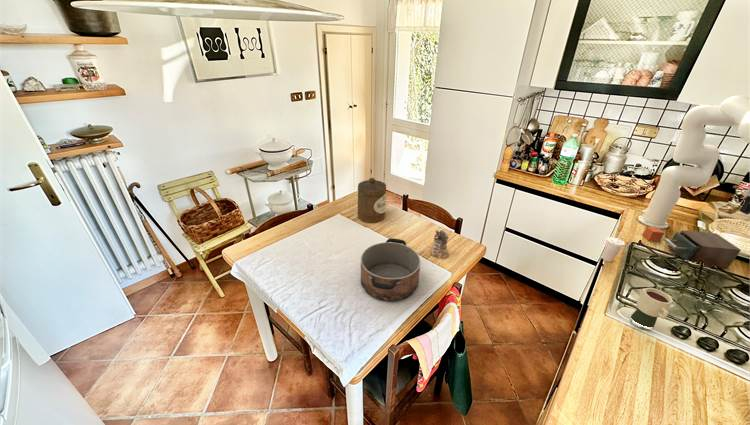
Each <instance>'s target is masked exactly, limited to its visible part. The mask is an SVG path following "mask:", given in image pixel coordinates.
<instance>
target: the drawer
mask: <svg viewBox="0 0 750 425" xmlns="http://www.w3.org/2000/svg"><path fill="white" fill-rule="evenodd" d="M663 241H664V242H665V243H666V244H667V248H669V249H670V250H671V251H672V252H673V253H674V254H676V256H677V257H679V256H680V257H682V258H684V259H686V260H692V259H693V257H694V256H695V254H696V253H697V251H698V250H699V248H700V246H699V245H697V244H696V243H695V242H693V241H692V240H691V239H689V238H688V237H687V236H685V235H684V234H683V235H681V234H680V232H677V231H675V233H674V234H673V236H672V238H671V239H669V238H668V237H664V238H663ZM680 257H679V258H680Z"/></svg>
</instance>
